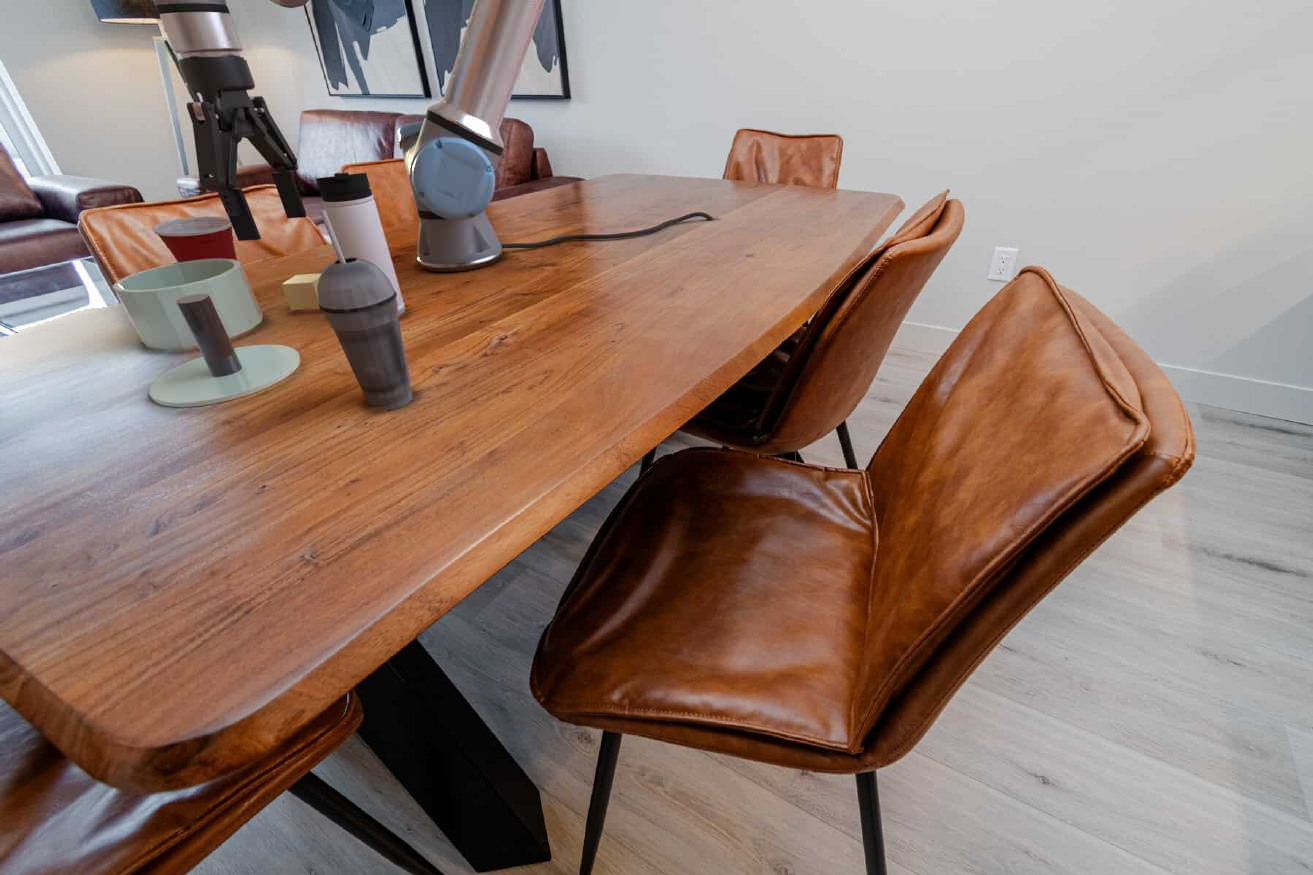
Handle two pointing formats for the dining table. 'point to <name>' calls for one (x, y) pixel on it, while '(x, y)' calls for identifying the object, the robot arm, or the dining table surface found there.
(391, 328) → the beverage cup
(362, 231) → the travel mug
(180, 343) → the bowl
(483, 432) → the dining table surface
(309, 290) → the block
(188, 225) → the plastic cup
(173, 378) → the lid
